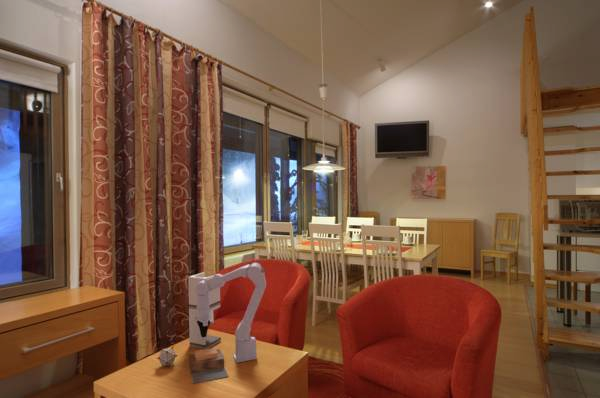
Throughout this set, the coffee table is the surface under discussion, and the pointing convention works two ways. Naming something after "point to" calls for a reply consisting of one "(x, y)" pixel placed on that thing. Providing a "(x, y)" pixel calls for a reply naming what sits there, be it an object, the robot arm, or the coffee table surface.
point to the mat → (209, 375)
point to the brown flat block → (206, 362)
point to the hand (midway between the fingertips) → (203, 336)
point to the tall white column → (193, 326)
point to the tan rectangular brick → (205, 354)
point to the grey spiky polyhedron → (167, 357)
